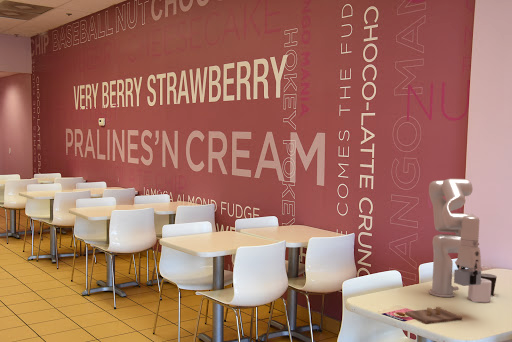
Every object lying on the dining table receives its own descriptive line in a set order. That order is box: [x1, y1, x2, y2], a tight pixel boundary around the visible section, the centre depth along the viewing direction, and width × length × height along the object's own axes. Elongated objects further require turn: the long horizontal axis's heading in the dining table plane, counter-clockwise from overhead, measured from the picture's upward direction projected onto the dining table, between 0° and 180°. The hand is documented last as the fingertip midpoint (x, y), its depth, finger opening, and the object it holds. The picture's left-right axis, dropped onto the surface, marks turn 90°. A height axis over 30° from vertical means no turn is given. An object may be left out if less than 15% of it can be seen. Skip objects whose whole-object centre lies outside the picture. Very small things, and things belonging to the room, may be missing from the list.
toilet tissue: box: [467, 278, 492, 303], centre depth 267 cm, size 11×12×10 cm
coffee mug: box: [481, 273, 497, 296], centre depth 281 cm, size 12×9×10 cm
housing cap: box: [453, 268, 482, 287], centre depth 240 cm, size 10×6×6 cm, turn 112°
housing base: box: [404, 306, 463, 325], centre depth 236 cm, size 20×14×4 cm
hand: (467, 281), depth 240 cm, fingers closed on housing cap, 6 cm apart
